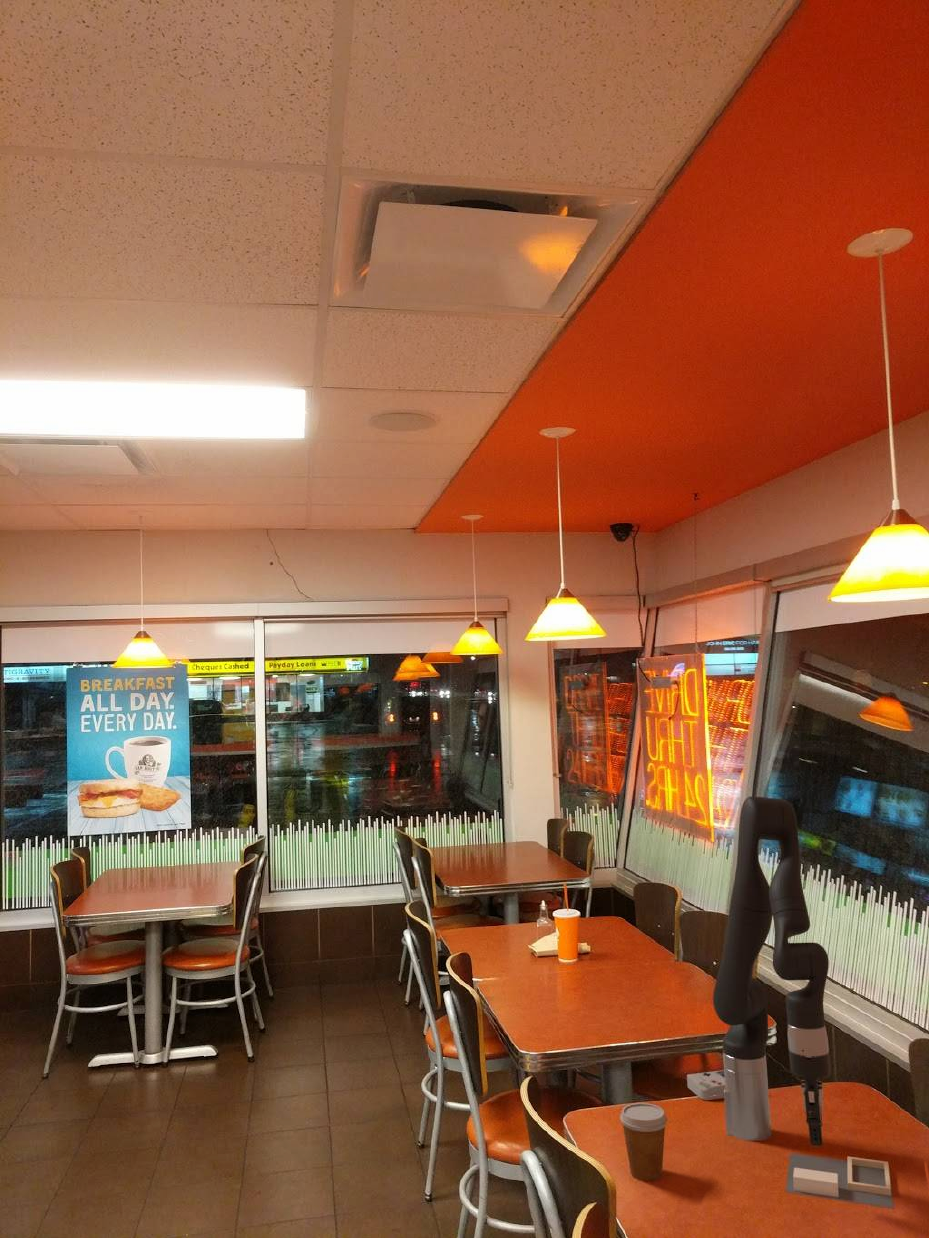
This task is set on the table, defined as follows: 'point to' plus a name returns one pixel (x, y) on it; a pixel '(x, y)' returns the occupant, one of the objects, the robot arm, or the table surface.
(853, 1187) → the mat
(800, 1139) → the table surface
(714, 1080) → the handheld gaming device
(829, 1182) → the tile
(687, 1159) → the table surface
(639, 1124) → the disposable coffee cup
